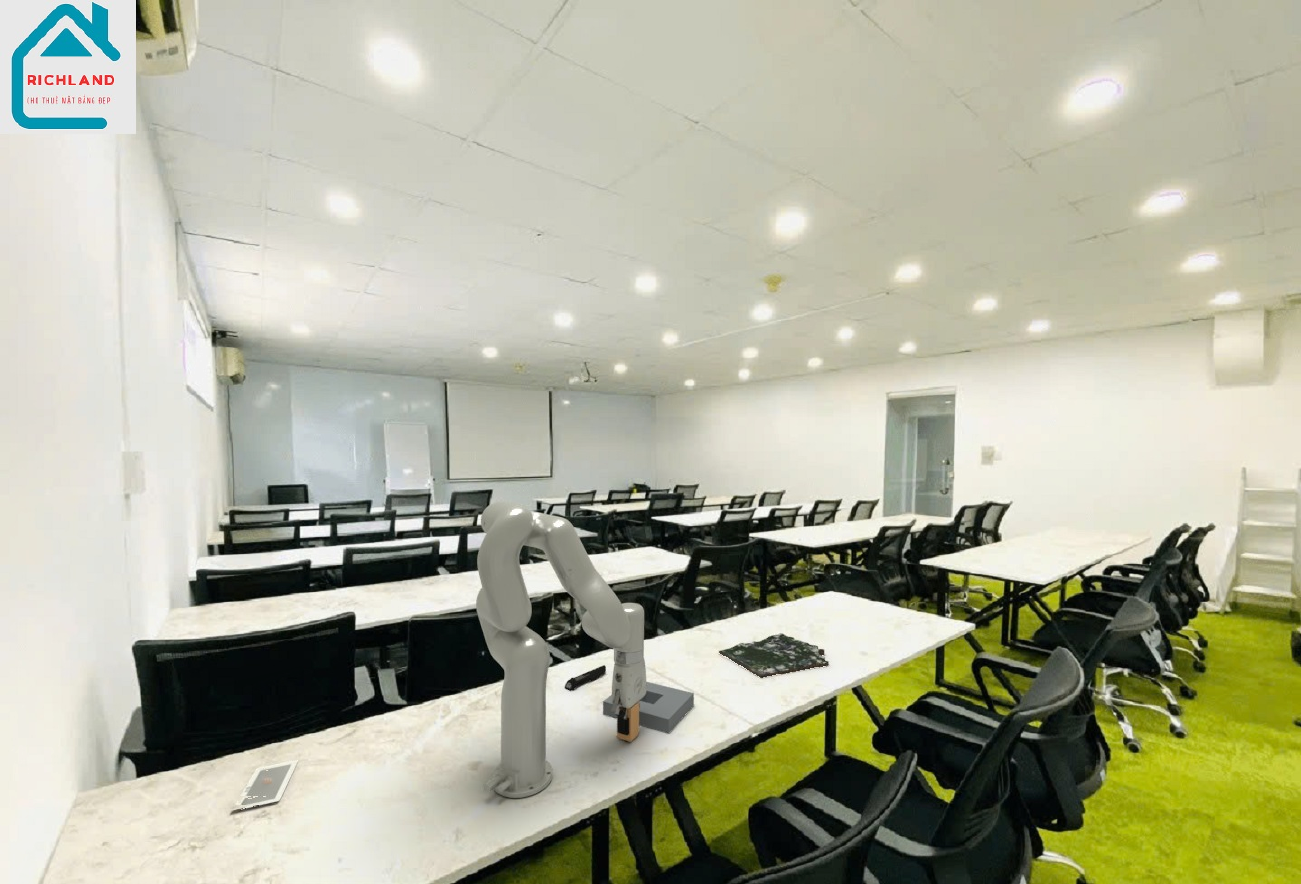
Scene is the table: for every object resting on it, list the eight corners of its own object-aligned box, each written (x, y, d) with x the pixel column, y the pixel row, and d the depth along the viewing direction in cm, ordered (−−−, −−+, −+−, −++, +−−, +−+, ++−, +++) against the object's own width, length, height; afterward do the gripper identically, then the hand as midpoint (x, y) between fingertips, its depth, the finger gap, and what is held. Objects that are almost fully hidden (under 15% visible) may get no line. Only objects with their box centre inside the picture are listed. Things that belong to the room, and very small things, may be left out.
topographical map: (719, 655, 176) (718, 647, 176) (787, 639, 191) (787, 631, 191) (768, 684, 153) (768, 674, 153) (841, 663, 168) (841, 654, 168)
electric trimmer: (608, 676, 159) (608, 666, 159) (571, 692, 147) (571, 682, 147) (600, 673, 161) (600, 663, 161) (563, 689, 150) (563, 678, 150)
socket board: (668, 733, 124) (668, 719, 125) (603, 714, 134) (603, 701, 134) (693, 705, 139) (693, 693, 139) (632, 690, 148) (632, 678, 148)
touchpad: (298, 764, 113) (298, 754, 113) (279, 806, 99) (279, 795, 99) (256, 773, 110) (257, 763, 110) (230, 817, 96) (231, 806, 96)
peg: (630, 742, 120) (631, 708, 120) (616, 737, 122) (617, 704, 122) (638, 734, 124) (639, 701, 124) (625, 729, 125) (625, 698, 126)
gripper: (624, 669, 115) (623, 750, 114) (657, 646, 129) (656, 718, 128) (597, 663, 118) (596, 741, 117) (632, 641, 133) (632, 711, 132)
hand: (628, 728), depth 123 cm, fingers closed on peg, 4 cm apart
